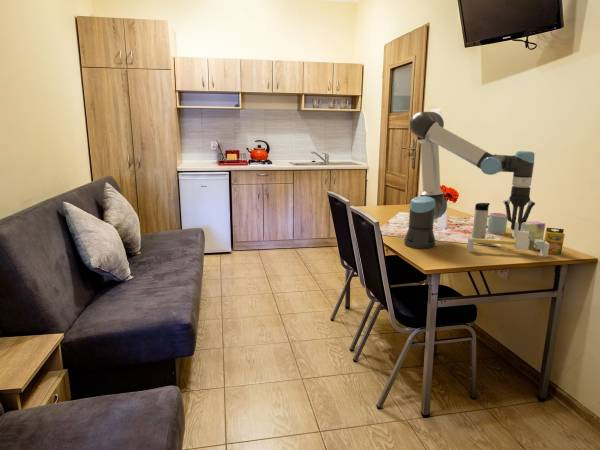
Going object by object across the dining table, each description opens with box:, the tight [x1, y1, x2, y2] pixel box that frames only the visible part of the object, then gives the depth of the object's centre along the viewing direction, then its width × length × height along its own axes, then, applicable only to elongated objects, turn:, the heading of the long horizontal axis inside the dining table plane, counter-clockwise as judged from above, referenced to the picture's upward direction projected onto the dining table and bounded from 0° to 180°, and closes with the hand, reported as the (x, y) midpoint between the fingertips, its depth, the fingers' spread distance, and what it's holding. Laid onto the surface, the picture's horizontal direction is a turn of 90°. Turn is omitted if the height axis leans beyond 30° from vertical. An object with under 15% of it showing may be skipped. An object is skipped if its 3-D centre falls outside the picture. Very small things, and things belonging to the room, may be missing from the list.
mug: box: [486, 212, 508, 235], centre depth 230 cm, size 14×9×10 cm
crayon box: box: [543, 227, 566, 255], centre depth 192 cm, size 7×3×12 cm, turn 70°
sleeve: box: [512, 231, 529, 251], centre depth 191 cm, size 5×5×8 cm
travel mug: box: [471, 202, 491, 239], centre depth 210 cm, size 6×7×20 cm
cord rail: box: [466, 236, 549, 258], centre depth 193 cm, size 34×4×7 cm, turn 77°
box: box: [518, 220, 546, 242], centre depth 203 cm, size 10×6×12 cm, turn 102°
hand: (514, 236), depth 191 cm, fingers closed
